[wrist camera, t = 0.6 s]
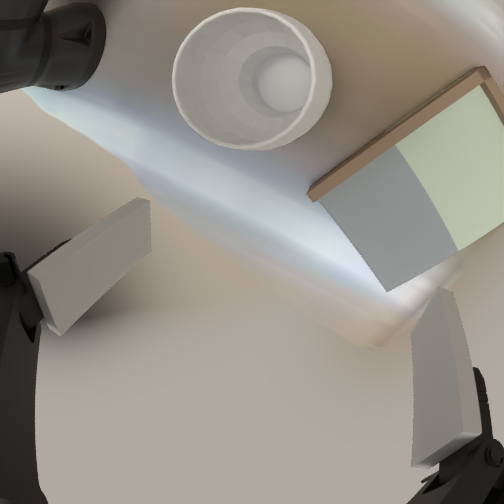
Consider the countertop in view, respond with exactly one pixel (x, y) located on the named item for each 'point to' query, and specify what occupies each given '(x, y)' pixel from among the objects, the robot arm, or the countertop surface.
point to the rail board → (423, 182)
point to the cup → (251, 79)
